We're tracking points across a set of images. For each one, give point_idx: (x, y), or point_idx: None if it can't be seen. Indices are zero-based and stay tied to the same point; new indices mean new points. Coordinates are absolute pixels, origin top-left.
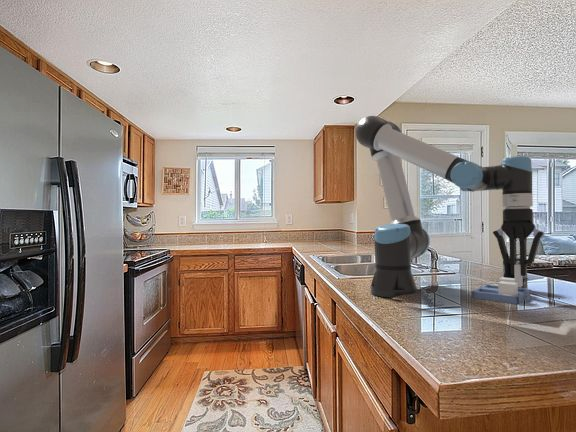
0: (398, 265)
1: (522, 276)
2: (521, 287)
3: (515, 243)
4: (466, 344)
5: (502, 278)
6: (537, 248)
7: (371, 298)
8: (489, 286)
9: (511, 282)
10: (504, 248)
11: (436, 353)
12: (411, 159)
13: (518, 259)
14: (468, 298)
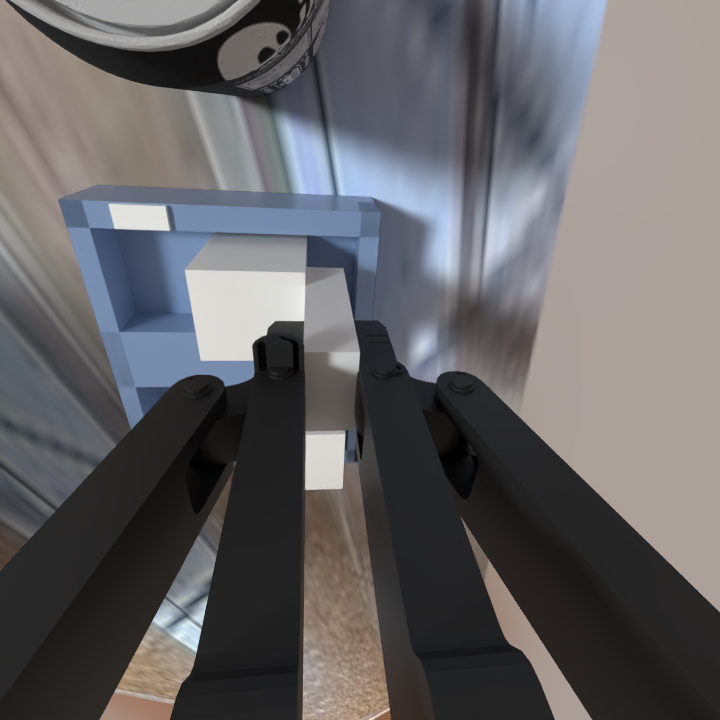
0: None
1: (348, 297)
2: (299, 71)
3: (301, 656)
4: (327, 675)
5: (213, 332)
6: (614, 517)
7: None
8: (104, 224)
9: (313, 440)
10: (156, 598)
11: (306, 707)
12: None
13: (238, 11)
14: (106, 376)
